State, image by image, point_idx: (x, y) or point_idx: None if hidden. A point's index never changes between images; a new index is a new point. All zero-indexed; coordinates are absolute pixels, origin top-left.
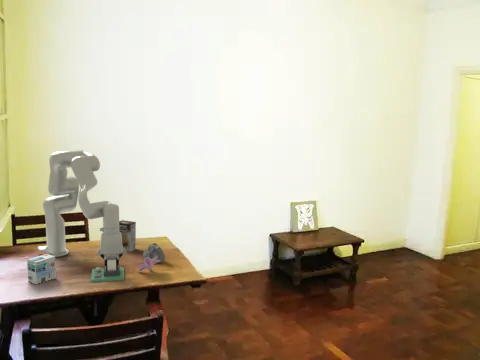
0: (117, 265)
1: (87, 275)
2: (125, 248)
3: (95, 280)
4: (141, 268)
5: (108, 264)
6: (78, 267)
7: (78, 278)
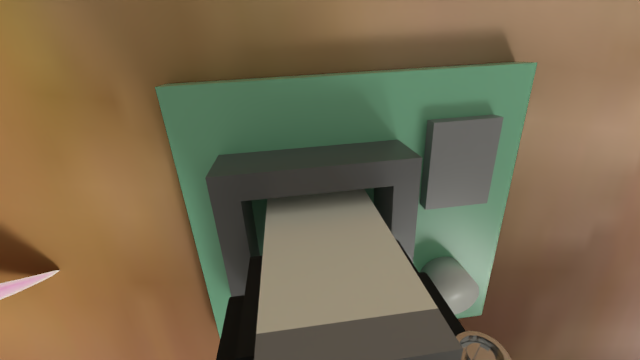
0: None
1: (514, 226)
2: None
3: (479, 65)
4: None
5: (385, 253)
6: (543, 357)
7: (593, 168)
